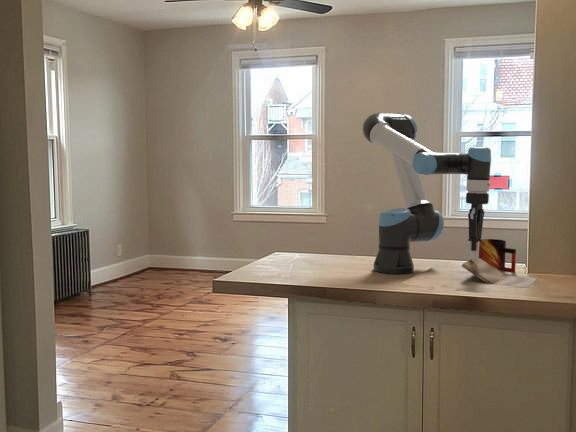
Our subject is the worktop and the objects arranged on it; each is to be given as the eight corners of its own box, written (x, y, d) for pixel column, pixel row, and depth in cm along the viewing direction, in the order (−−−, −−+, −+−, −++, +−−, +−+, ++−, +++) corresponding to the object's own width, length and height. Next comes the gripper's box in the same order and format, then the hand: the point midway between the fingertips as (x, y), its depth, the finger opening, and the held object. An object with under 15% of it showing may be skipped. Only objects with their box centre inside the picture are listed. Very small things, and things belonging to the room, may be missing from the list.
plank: (461, 266, 205) (463, 263, 205) (475, 258, 221) (476, 256, 220) (492, 287, 201) (494, 284, 200) (504, 278, 216) (506, 275, 215)
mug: (514, 276, 221) (516, 244, 220) (475, 273, 228) (476, 241, 226) (517, 272, 230) (519, 240, 229) (480, 268, 236) (481, 238, 235)
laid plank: (495, 287, 200) (495, 284, 200) (506, 278, 215) (506, 275, 215) (527, 291, 195) (527, 287, 195) (536, 281, 210) (537, 278, 210)
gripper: (484, 193, 202) (480, 263, 204) (493, 192, 213) (489, 258, 216) (461, 192, 206) (458, 261, 208) (471, 190, 217) (468, 256, 219)
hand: (474, 259), depth 212 cm, fingers closed
